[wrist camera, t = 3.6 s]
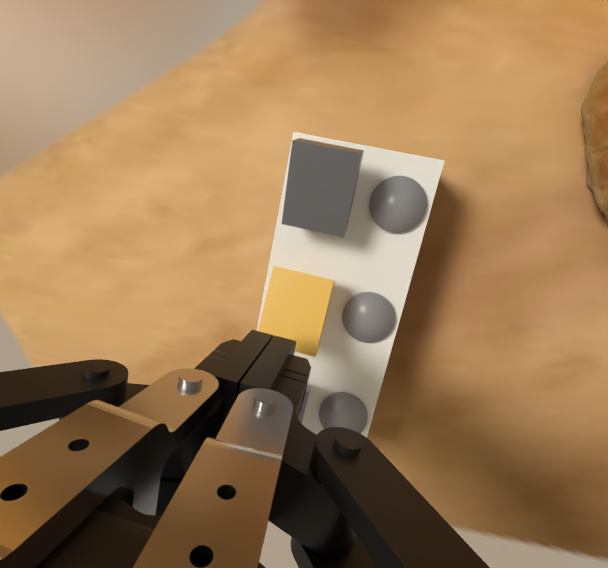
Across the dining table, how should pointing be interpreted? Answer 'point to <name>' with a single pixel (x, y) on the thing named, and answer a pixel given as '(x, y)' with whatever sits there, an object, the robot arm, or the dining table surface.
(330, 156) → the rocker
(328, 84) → the dining table surface
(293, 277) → the rocker middle
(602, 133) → the pastry
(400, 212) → the white switch panel
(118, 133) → the dining table surface
